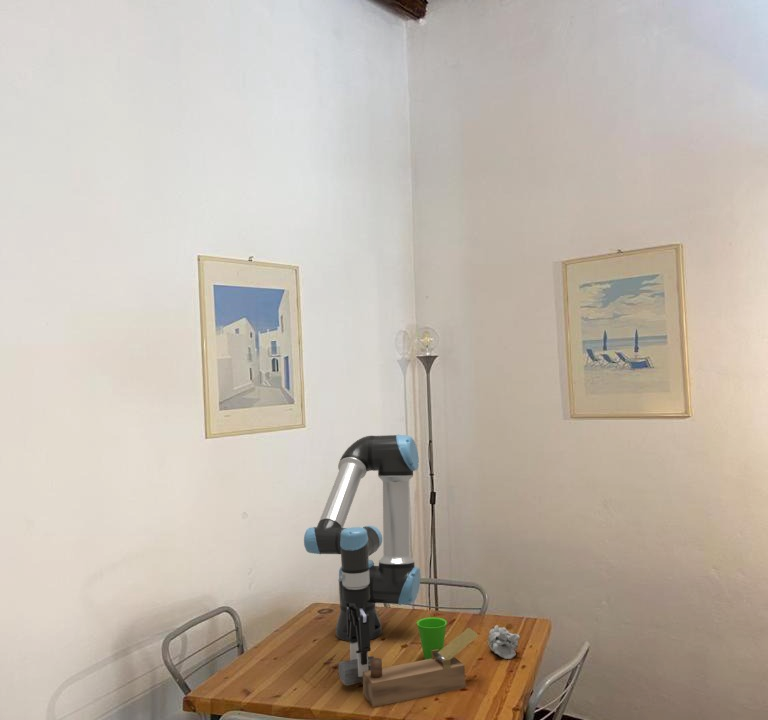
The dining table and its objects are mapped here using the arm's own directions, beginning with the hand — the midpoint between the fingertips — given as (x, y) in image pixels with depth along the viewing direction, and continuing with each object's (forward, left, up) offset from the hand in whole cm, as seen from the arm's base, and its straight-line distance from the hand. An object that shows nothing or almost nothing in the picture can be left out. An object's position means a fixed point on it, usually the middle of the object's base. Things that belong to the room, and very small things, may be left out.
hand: (359, 670), depth 195 cm
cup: (-7, +25, -4) cm, 26 cm away
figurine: (-2, +46, -4) cm, 46 cm away
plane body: (+10, +12, -4) cm, 16 cm away
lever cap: (0, 0, -2) cm, 2 cm away
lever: (+10, +20, +3) cm, 23 cm away
